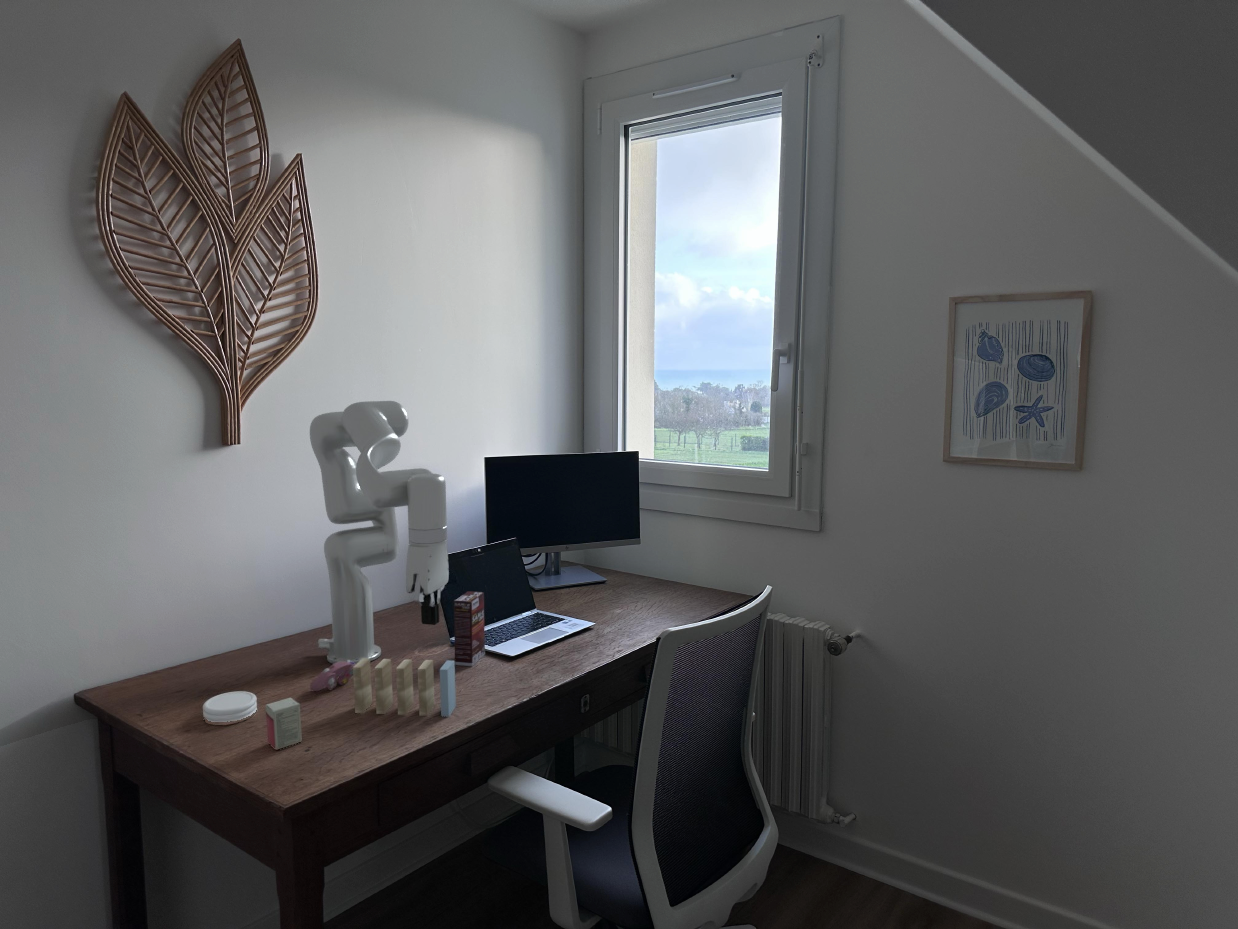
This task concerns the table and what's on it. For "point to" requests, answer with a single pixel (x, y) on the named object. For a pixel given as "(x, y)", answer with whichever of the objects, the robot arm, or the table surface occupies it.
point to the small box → (283, 723)
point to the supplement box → (469, 628)
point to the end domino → (447, 688)
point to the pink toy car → (333, 675)
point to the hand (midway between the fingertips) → (430, 623)
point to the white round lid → (230, 706)
